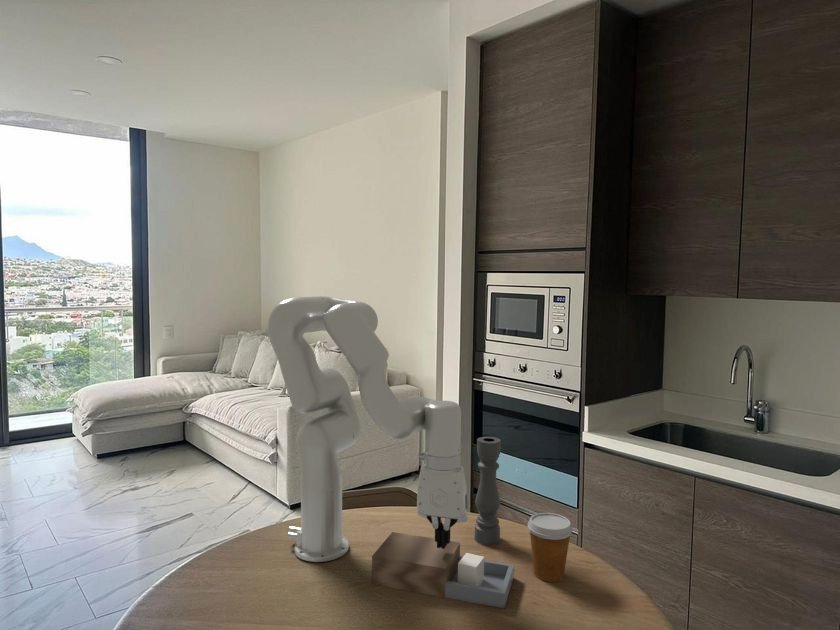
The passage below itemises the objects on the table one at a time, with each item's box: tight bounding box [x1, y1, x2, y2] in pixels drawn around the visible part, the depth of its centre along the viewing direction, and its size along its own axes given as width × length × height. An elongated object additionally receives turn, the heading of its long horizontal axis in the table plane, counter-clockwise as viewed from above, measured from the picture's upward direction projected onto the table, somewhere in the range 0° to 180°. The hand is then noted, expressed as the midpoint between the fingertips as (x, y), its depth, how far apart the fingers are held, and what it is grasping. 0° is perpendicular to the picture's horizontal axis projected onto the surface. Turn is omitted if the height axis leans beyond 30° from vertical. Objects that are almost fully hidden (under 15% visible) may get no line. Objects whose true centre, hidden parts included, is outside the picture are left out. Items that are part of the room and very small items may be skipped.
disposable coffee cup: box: [527, 512, 573, 583], centre depth 123 cm, size 10×10×12 cm
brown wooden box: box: [371, 531, 461, 598], centre depth 122 cm, size 16×12×6 cm
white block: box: [458, 552, 485, 586], centre depth 119 cm, size 5×5×4 cm
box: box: [444, 555, 515, 610], centre depth 118 cm, size 12×12×3 cm
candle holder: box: [474, 436, 502, 546], centre depth 139 cm, size 6×6×25 cm
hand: (442, 545), depth 120 cm, fingers closed
